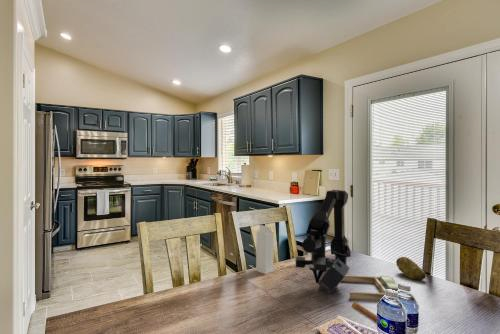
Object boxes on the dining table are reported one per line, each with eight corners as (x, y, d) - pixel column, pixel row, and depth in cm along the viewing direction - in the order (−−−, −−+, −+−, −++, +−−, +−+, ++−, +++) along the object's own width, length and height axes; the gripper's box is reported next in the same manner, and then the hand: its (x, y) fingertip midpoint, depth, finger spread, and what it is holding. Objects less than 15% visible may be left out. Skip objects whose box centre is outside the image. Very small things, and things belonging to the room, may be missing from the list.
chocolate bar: (376, 324, 98) (376, 318, 98) (350, 307, 109) (351, 301, 109) (382, 323, 99) (382, 316, 99) (356, 306, 110) (356, 300, 110)
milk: (265, 274, 138) (265, 228, 137) (255, 270, 142) (256, 226, 141) (273, 270, 142) (274, 226, 141) (263, 267, 146) (264, 223, 145)
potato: (411, 282, 130) (411, 265, 130) (393, 271, 143) (393, 255, 142) (427, 281, 131) (428, 264, 131) (408, 270, 144) (409, 254, 144)
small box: (330, 295, 118) (344, 276, 115) (317, 283, 120) (330, 265, 117) (336, 285, 127) (350, 267, 124) (324, 274, 130) (337, 257, 126)
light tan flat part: (341, 280, 132) (341, 271, 132) (391, 282, 130) (392, 274, 129) (350, 298, 115) (350, 288, 115) (408, 302, 113) (409, 291, 113)
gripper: (297, 251, 117) (295, 289, 117) (345, 254, 115) (343, 293, 115) (296, 243, 128) (294, 278, 128) (339, 246, 126) (338, 282, 126)
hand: (316, 283), depth 124 cm, fingers closed, pressing on small box
